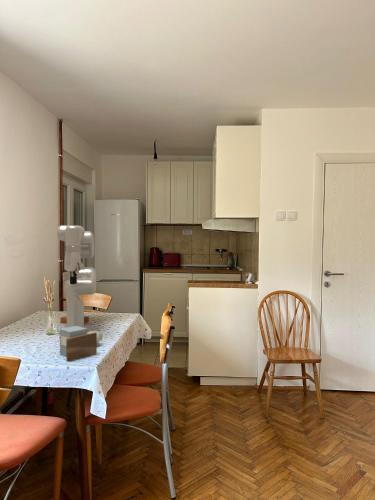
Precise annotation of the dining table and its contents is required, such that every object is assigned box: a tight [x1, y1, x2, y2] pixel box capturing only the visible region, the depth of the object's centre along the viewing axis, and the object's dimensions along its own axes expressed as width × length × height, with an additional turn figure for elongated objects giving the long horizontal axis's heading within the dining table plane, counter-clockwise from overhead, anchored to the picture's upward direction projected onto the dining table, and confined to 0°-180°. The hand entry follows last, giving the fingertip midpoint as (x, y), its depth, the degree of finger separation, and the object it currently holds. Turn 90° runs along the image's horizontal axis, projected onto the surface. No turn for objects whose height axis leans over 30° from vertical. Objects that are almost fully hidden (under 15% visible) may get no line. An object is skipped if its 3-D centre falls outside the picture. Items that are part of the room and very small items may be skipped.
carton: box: [59, 314, 90, 325], centre depth 239 cm, size 8×16×4 cm, turn 81°
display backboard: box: [65, 332, 98, 362], centre depth 167 cm, size 2×15×10 cm, turn 138°
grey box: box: [59, 326, 88, 358], centre depth 172 cm, size 9×9×12 cm
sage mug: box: [87, 330, 103, 348], centre depth 186 cm, size 6×8×7 cm
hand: (73, 283), depth 193 cm, fingers closed
